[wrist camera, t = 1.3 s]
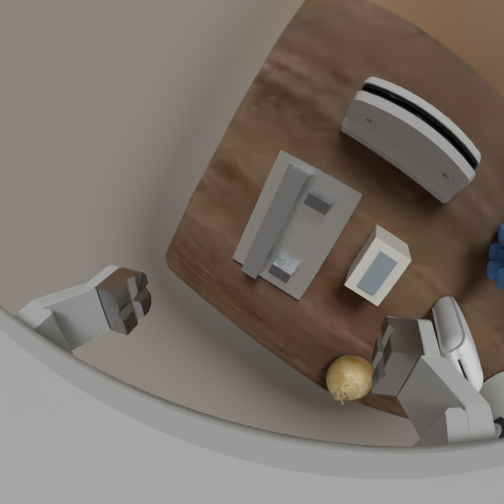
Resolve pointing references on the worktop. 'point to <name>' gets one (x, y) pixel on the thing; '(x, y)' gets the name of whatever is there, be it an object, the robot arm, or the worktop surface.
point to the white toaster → (412, 137)
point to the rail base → (295, 224)
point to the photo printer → (457, 340)
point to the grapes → (497, 260)
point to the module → (378, 265)
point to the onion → (349, 378)
